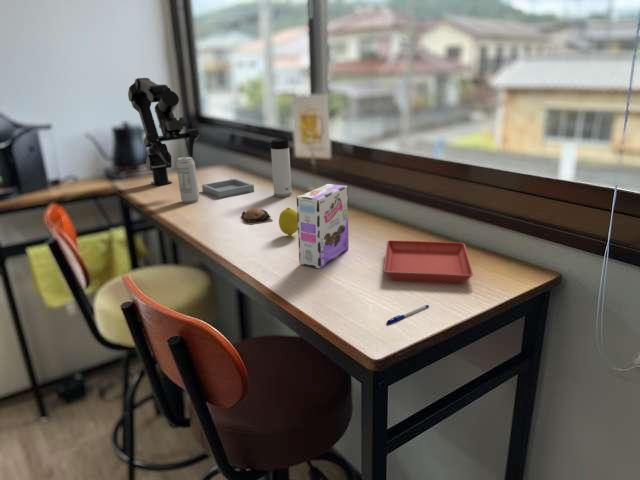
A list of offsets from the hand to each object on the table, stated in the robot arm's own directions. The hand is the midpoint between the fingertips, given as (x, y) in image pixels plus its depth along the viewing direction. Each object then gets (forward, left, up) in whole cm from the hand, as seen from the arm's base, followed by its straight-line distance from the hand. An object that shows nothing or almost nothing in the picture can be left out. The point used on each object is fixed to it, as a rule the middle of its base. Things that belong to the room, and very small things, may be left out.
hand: (179, 160), depth 168 cm
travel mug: (+24, +27, -13) cm, 38 cm away
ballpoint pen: (+111, -3, -13) cm, 112 cm away
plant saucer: (+99, +16, -14) cm, 101 cm away
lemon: (+61, +5, -13) cm, 63 cm away
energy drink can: (+8, -1, -13) cm, 15 cm away
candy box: (+79, +3, -13) cm, 80 cm away
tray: (+5, +15, -13) cm, 21 cm away
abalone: (+41, +6, -14) cm, 44 cm away
